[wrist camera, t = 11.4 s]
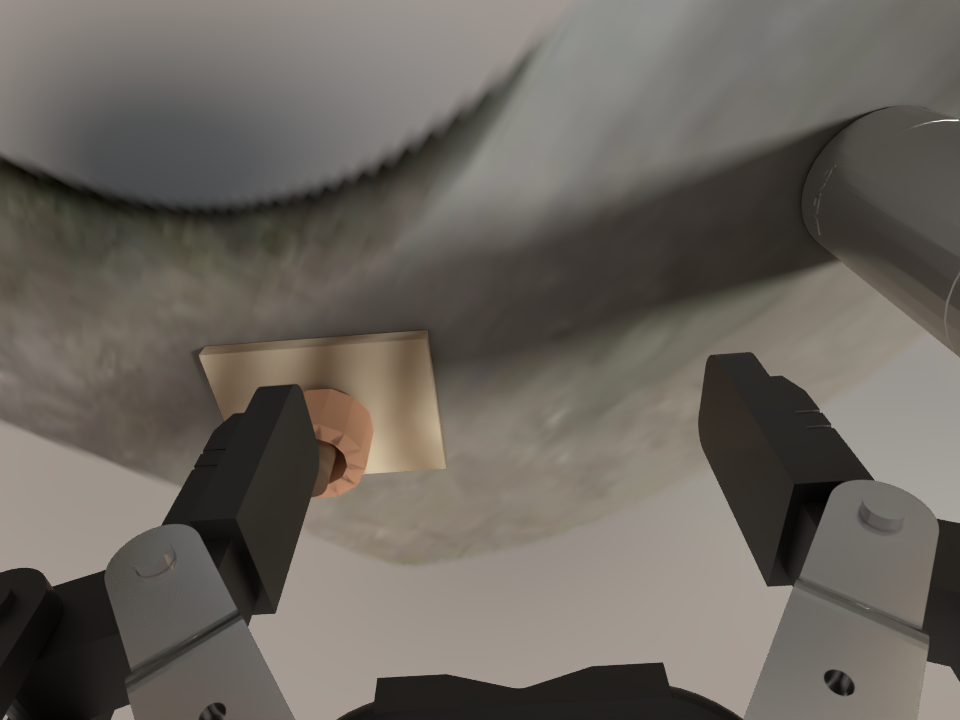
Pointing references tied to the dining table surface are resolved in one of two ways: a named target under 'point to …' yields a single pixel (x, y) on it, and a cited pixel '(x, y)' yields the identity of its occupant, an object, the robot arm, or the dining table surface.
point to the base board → (346, 387)
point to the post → (324, 463)
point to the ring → (341, 435)
